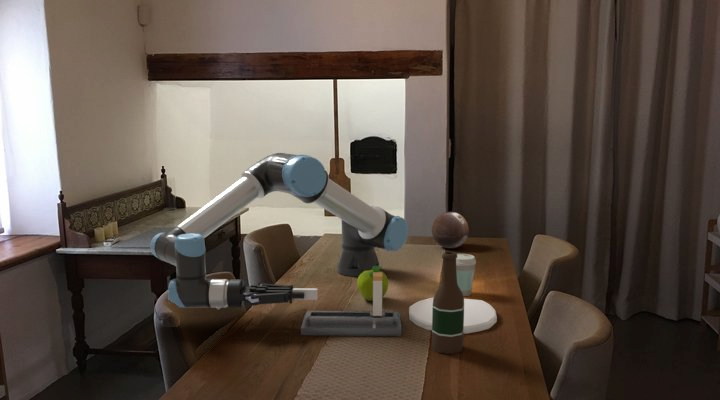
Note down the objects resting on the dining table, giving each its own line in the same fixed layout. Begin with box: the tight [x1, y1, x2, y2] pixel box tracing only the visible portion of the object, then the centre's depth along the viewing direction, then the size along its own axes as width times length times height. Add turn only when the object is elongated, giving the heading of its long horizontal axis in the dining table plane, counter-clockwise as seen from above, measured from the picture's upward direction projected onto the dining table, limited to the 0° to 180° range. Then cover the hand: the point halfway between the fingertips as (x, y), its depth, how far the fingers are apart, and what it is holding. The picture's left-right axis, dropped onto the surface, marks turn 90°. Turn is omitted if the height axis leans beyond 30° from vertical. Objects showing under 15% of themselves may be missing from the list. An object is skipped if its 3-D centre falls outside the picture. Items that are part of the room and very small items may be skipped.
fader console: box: [300, 310, 403, 337], centre depth 170 cm, size 26×12×4 cm, turn 89°
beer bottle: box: [431, 251, 465, 355], centre depth 154 cm, size 8×8×24 cm
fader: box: [370, 271, 385, 317], centre depth 169 cm, size 4×4×12 cm
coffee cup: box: [456, 253, 477, 297], centre depth 199 cm, size 8×8×12 cm
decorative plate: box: [408, 296, 498, 335], centre depth 178 cm, size 25×4×25 cm
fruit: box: [356, 265, 389, 302], centre depth 193 cm, size 9×9×10 cm
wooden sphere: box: [431, 211, 470, 249], centre depth 261 cm, size 15×15×15 cm
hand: (317, 294), depth 168 cm, fingers closed
